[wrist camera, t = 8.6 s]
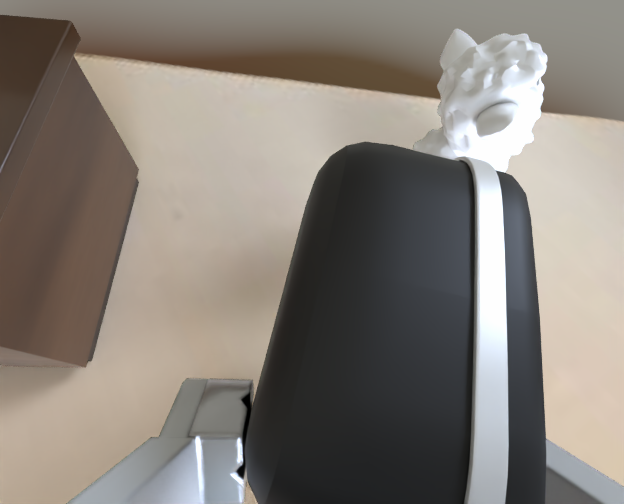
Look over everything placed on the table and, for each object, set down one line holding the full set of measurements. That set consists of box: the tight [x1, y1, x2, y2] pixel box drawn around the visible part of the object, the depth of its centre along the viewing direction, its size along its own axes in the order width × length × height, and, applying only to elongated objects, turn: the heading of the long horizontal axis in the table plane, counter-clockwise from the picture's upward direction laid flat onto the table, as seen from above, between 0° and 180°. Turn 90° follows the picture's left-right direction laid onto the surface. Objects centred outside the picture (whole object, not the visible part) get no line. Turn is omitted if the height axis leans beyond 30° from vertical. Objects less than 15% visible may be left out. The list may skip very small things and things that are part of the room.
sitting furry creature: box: [413, 29, 547, 172], centre depth 18 cm, size 10×9×12 cm
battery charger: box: [245, 142, 547, 504], centre depth 10 cm, size 7×4×11 cm, turn 168°
